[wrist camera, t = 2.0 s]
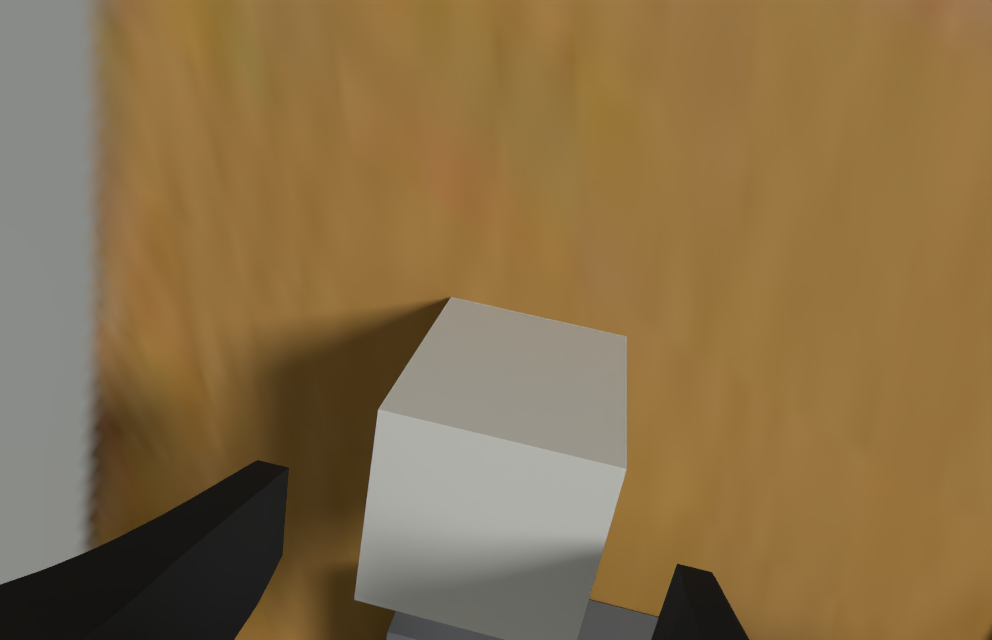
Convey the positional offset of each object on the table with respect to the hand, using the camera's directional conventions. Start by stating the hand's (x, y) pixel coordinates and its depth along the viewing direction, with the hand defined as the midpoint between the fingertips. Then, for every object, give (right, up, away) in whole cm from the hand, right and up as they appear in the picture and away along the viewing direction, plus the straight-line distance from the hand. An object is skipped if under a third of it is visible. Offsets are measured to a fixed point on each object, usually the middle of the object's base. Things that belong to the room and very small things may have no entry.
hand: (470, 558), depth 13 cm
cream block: (+1, +2, +6) cm, 7 cm away
